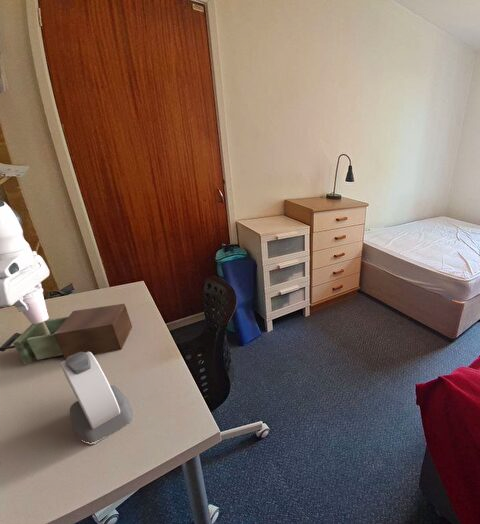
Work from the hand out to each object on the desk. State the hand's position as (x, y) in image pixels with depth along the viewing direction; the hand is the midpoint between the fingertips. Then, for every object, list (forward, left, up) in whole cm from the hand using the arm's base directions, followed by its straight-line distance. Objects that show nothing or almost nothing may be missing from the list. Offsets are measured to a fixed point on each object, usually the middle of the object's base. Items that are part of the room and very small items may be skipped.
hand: (31, 304), depth 80 cm
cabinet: (+12, 0, -17) cm, 21 cm away
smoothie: (0, 0, -6) cm, 6 cm away
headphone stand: (+22, -33, -17) cm, 43 cm away
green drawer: (0, 0, -16) cm, 16 cm away
